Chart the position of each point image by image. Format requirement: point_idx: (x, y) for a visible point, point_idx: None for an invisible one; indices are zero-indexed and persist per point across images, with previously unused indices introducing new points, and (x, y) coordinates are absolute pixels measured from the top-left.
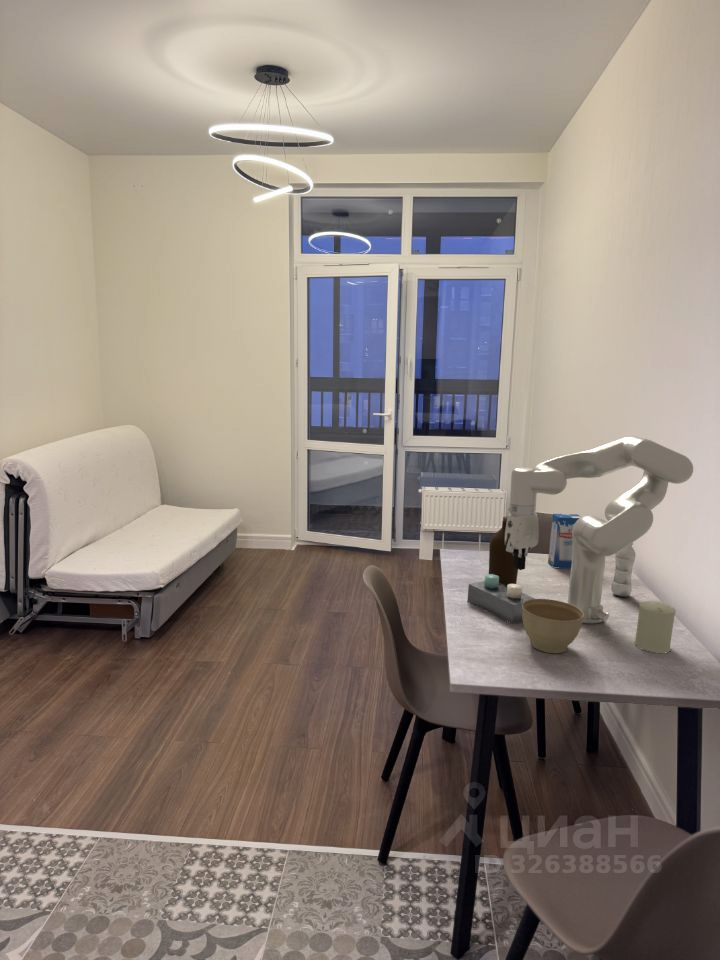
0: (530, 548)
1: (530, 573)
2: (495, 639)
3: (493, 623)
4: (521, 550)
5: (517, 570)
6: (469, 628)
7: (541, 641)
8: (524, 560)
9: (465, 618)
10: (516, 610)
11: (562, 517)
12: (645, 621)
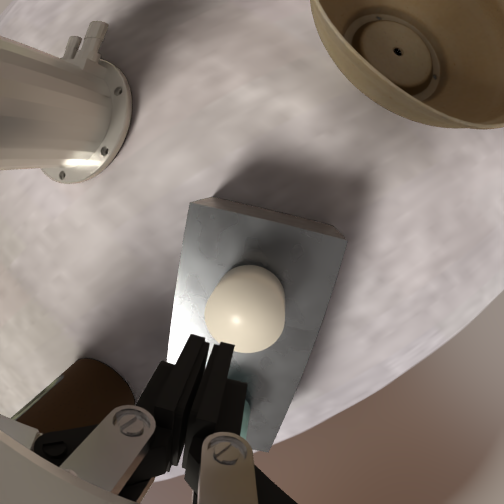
0: (30, 432)
1: (3, 364)
2: (468, 199)
3: (374, 272)
4: (202, 499)
5: (50, 389)
6: (452, 295)
7: (468, 49)
8: (182, 384)
9: (396, 347)
10: (323, 230)
11: None
12: None
